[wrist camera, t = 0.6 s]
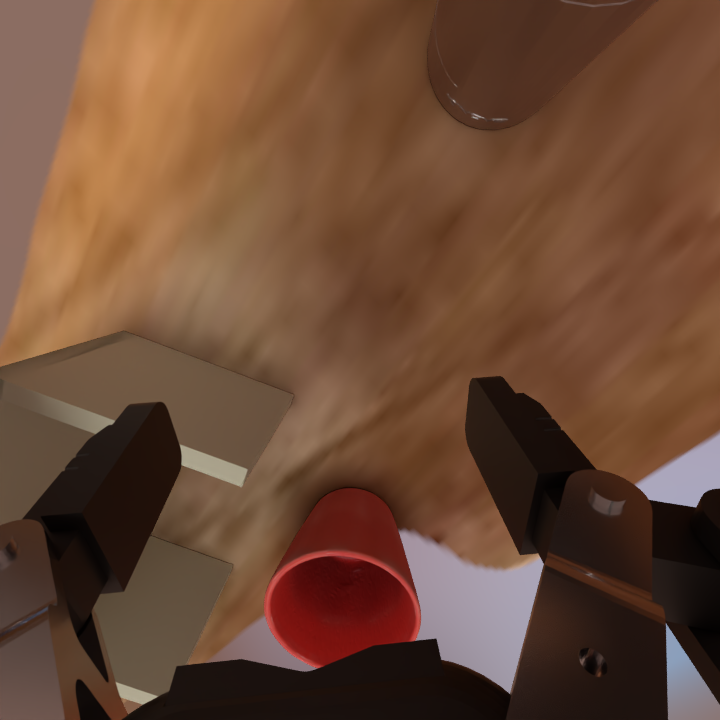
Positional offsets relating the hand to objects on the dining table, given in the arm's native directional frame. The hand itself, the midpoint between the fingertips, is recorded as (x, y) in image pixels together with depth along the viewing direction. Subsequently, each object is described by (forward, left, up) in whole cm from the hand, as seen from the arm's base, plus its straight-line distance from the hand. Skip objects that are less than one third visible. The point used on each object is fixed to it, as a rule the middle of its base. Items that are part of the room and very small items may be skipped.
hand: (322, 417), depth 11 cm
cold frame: (+19, -10, -21) cm, 30 cm away
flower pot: (+19, +6, -22) cm, 29 cm away
